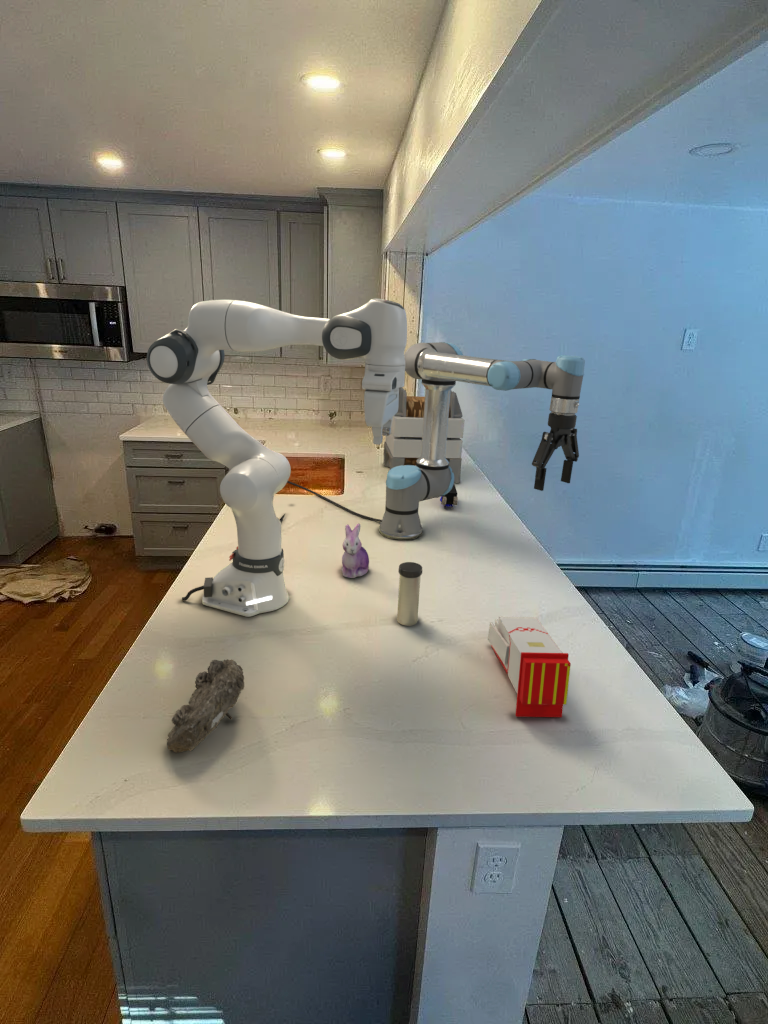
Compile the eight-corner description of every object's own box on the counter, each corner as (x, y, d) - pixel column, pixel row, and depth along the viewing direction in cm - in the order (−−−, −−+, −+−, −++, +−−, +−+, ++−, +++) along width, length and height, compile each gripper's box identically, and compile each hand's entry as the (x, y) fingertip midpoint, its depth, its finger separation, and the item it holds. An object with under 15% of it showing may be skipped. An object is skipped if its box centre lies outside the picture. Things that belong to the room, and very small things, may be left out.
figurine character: (457, 514, 225) (453, 498, 239) (459, 497, 222) (455, 481, 236) (441, 513, 225) (437, 497, 239) (442, 496, 222) (439, 481, 235)
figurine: (347, 581, 163) (348, 533, 158) (333, 567, 172) (334, 521, 166) (376, 576, 167) (378, 528, 162) (361, 562, 176) (363, 517, 171)
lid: (395, 575, 138) (396, 569, 138) (401, 566, 143) (402, 560, 143) (419, 579, 137) (419, 573, 136) (424, 569, 142) (424, 564, 141)
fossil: (192, 660, 117) (244, 628, 112) (224, 691, 120) (276, 661, 115) (142, 746, 98) (202, 712, 93) (182, 779, 101) (242, 748, 96)
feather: (292, 507, 224) (294, 503, 223) (275, 531, 197) (278, 527, 197) (288, 505, 224) (291, 501, 223) (271, 528, 197) (273, 524, 197)
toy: (534, 602, 136) (579, 659, 107) (529, 653, 139) (572, 723, 110) (484, 601, 136) (516, 658, 107) (480, 652, 139) (510, 722, 109)
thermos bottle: (394, 623, 143) (397, 571, 138) (399, 613, 148) (403, 562, 143) (414, 627, 142) (418, 574, 137) (419, 617, 146) (423, 565, 141)
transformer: (382, 463, 289) (386, 382, 275) (445, 464, 293) (451, 384, 279) (390, 482, 257) (394, 392, 243) (460, 483, 261) (468, 394, 247)
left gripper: (380, 372, 135) (378, 429, 140) (359, 381, 116) (358, 447, 121) (406, 373, 134) (403, 431, 138) (390, 384, 115) (387, 450, 120)
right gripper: (548, 419, 148) (537, 496, 155) (598, 411, 163) (586, 482, 171) (525, 414, 153) (515, 489, 160) (575, 407, 169) (564, 476, 176)
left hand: (382, 439), depth 129 cm, fingers open, 8 cm apart
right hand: (552, 485), depth 166 cm, fingers open, 13 cm apart
